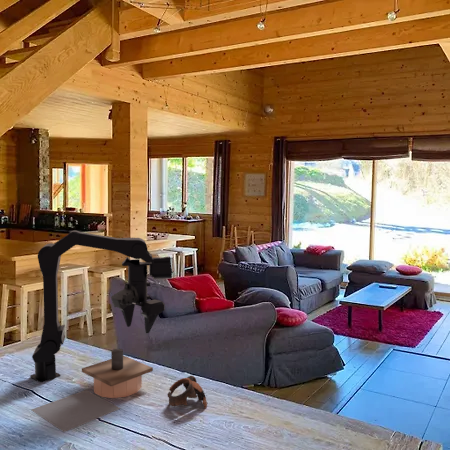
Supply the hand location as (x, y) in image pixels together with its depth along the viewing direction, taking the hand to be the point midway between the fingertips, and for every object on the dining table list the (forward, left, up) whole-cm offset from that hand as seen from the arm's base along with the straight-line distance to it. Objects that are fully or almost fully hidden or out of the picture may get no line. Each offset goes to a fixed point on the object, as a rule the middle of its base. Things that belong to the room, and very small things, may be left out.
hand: (137, 329), depth 148 cm
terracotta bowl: (+6, -12, -13) cm, 19 cm away
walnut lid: (+6, -12, -8) cm, 16 cm away
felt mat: (+9, -27, -13) cm, 31 cm away
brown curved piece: (+27, -5, -13) cm, 31 cm away
